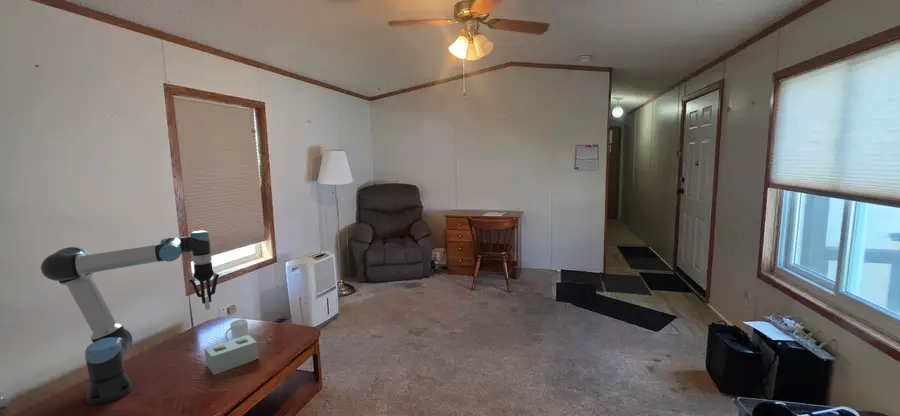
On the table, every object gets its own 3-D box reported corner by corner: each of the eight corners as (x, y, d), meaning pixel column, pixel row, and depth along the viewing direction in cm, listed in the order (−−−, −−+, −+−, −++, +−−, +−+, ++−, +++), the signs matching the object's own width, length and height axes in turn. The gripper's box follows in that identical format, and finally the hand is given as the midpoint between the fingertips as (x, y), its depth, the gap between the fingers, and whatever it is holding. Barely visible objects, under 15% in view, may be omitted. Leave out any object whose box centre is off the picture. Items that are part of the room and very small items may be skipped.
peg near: (218, 366, 194) (216, 350, 193) (215, 363, 197) (213, 347, 195) (227, 363, 196) (225, 347, 195) (224, 360, 199) (222, 345, 198)
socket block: (213, 374, 189) (211, 356, 188) (206, 365, 198) (204, 348, 196) (258, 358, 203) (256, 341, 202) (250, 350, 211) (248, 334, 210)
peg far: (240, 358, 201) (238, 343, 200) (237, 355, 203) (236, 340, 202) (249, 355, 203) (247, 340, 202) (246, 353, 206) (244, 338, 205)
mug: (229, 350, 212) (227, 329, 210) (223, 346, 218) (220, 325, 216) (252, 342, 221) (250, 321, 219) (245, 338, 226) (243, 317, 225)
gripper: (188, 266, 190) (193, 314, 193) (219, 261, 199) (224, 307, 202) (185, 263, 196) (190, 310, 199) (215, 258, 204) (220, 303, 208)
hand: (207, 308), depth 200 cm, fingers closed
